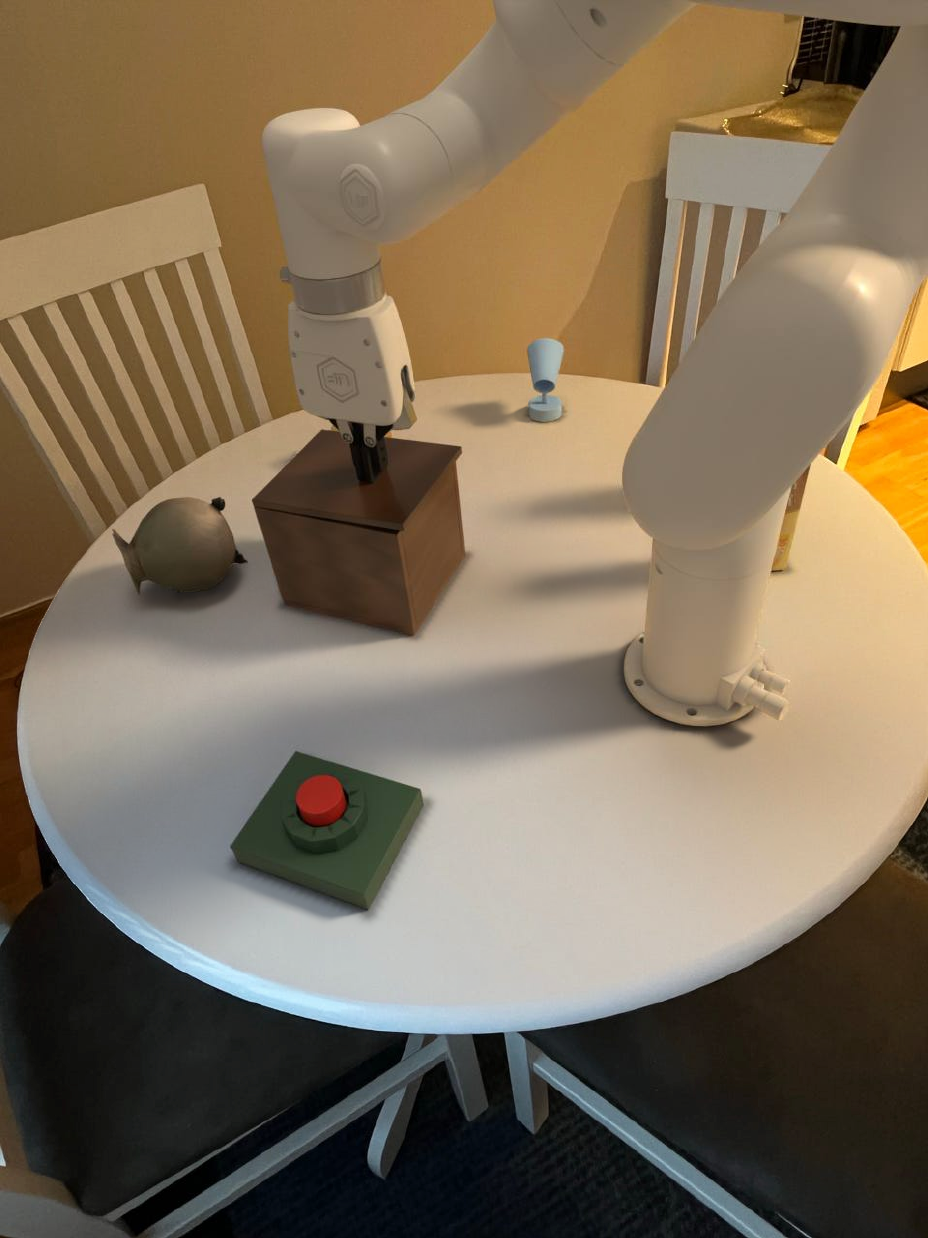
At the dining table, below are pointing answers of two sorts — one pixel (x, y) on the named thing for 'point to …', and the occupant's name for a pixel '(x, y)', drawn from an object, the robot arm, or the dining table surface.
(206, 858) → the dining table surface
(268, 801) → the control
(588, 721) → the dining table surface
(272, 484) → the lid
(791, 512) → the candy box
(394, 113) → the robot arm
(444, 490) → the chest
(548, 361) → the spotlight
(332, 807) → the button
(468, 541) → the dining table surface
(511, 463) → the dining table surface
